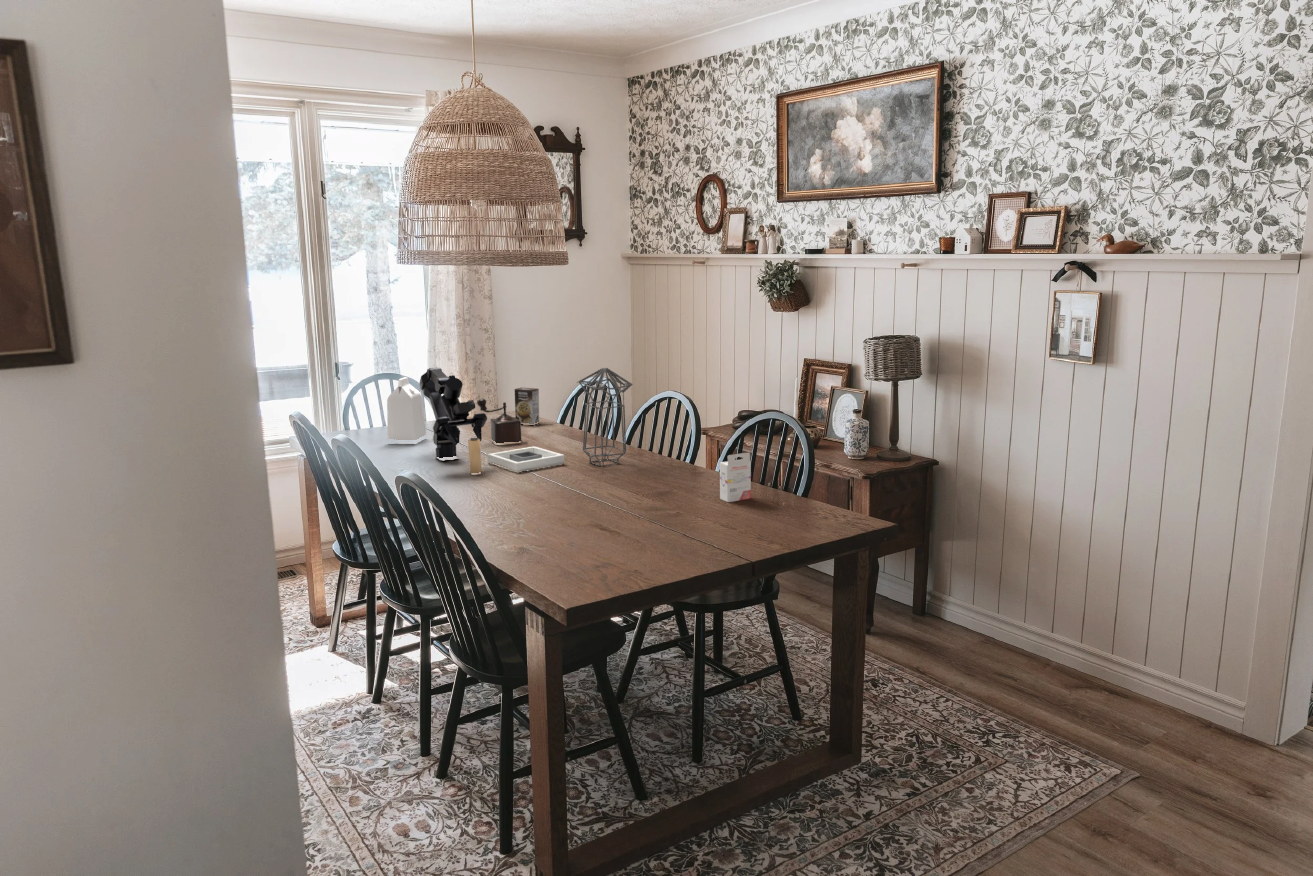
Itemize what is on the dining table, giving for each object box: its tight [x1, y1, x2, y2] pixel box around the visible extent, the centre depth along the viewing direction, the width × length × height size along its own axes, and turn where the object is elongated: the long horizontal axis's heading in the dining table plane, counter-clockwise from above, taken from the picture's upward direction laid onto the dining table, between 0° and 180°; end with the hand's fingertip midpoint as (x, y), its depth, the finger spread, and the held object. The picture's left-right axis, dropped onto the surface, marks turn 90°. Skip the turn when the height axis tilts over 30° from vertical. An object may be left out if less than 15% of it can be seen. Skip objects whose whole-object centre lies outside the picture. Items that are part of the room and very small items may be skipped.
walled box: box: [487, 446, 566, 472], centre depth 329 cm, size 20×20×4 cm
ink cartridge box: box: [719, 452, 752, 503], centre depth 279 cm, size 9×5×15 cm, turn 117°
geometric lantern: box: [576, 367, 633, 467], centre depth 325 cm, size 16×16×35 cm
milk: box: [386, 376, 427, 440], centre depth 368 cm, size 12×12×26 cm
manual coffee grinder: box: [476, 398, 522, 443], centre depth 364 cm, size 16×11×18 cm
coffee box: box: [514, 387, 540, 424], centre depth 404 cm, size 9×6×16 cm
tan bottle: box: [467, 437, 483, 473], centre depth 314 cm, size 4×4×13 cm
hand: (468, 442), depth 316 cm, fingers open, 9 cm apart
